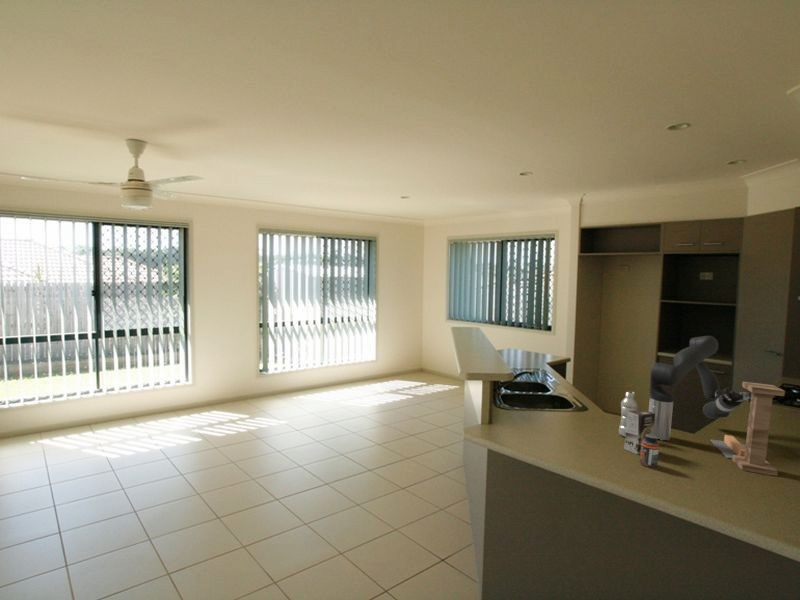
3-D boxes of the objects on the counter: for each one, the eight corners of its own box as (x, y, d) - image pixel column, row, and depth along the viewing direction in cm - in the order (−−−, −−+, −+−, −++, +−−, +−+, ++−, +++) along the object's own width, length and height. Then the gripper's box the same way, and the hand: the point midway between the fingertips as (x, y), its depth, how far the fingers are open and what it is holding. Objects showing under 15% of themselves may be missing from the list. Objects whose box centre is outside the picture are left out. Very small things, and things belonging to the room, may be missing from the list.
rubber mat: (768, 465, 183) (768, 463, 182) (727, 458, 187) (727, 457, 187) (747, 445, 203) (747, 444, 203) (710, 440, 208) (710, 439, 208)
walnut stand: (777, 476, 172) (787, 391, 170) (742, 470, 176) (751, 387, 174) (764, 464, 183) (773, 384, 180) (732, 459, 186) (740, 381, 184)
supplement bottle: (636, 461, 178) (638, 432, 177) (650, 461, 179) (653, 433, 178) (645, 468, 172) (648, 438, 171) (660, 468, 173) (663, 438, 172)
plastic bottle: (636, 440, 202) (641, 395, 201) (620, 438, 204) (624, 393, 202) (632, 435, 209) (636, 391, 207) (616, 433, 210) (620, 389, 209)
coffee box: (637, 455, 185) (641, 415, 184) (623, 449, 191) (627, 410, 190) (652, 452, 189) (656, 413, 188) (637, 446, 195) (641, 408, 194)
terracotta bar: (748, 459, 186) (749, 451, 186) (739, 457, 187) (740, 450, 187) (732, 442, 205) (732, 436, 205) (724, 441, 206) (724, 434, 206)
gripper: (709, 391, 214) (721, 380, 200) (745, 395, 210) (760, 384, 196) (710, 406, 211) (722, 396, 197) (747, 411, 207) (762, 401, 193)
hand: (741, 390), depth 197 cm, fingers open, 8 cm apart
